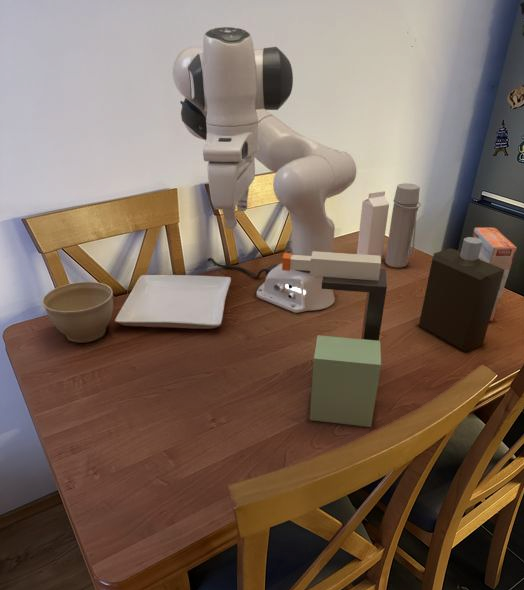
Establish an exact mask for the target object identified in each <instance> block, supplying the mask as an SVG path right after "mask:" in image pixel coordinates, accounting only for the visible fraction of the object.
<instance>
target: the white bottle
mask: <svg viewBox="0 0 524 590" xmlns="http://www.w3.org/2000/svg"><path fill="white" fill-rule="evenodd" d="M283 254H284V255H283ZM283 254H282V258H281V263H282V270H285V271H290V269H291V270H305V271H310V276H320V277H334V278H347V279H361V280H375V281H379V274H380V269H381V265H382V259H381V256H377V255H361V254H357V253H343V252H334V253H331V252H316V251H313V252H312V256H303V255H292V253H286V252H283Z"/></svg>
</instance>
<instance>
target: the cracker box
mask: <svg viewBox="0 0 524 590" xmlns="http://www.w3.org/2000/svg"><path fill="white" fill-rule="evenodd" d="M471 237H474V238H478V239H481V240H482V246H481V250H480V254H479V257H478V258H479V259H480V260H482V261H485V262H487V263H490V264H492V265H495V266H497V267H500V268H502V269H504V274H503V278H502V281H501V284H500V288H499V291H498V294H497V298H496V301H495V305H494V308H493V311H492V315H491V318H490V321H489V322H494V321H495V318H496V315H497V312H498V308H499V305H500V302H501V298H502V295H503V293H504V289H505V286H506V283H507V279H508V276H509V273H510V270H511V267H512V265H513V261H514V257H515V254H516V251H517V246H515V244H514V243H512V242H511V240H509V239H508V238H507V237H506V236H505V235H503V233H501V231H499V230H498V228H496V227H480V226H479V227H474V228H473V231H472V236H471Z"/></svg>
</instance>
